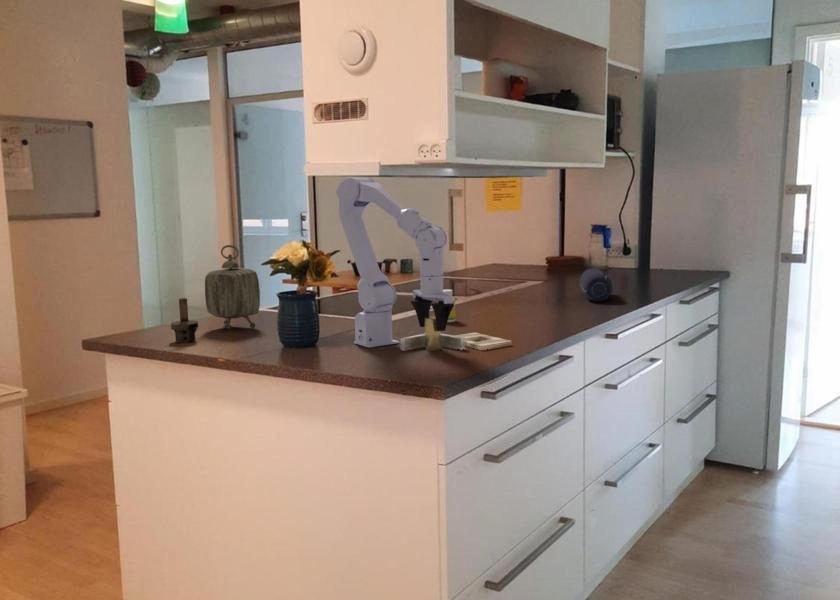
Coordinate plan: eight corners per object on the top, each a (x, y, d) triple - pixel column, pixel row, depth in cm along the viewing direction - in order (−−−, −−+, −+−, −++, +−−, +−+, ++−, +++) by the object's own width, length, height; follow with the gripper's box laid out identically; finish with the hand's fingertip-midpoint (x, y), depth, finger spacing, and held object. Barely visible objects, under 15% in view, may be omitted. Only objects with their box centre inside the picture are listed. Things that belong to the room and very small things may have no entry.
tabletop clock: (261, 327, 233) (257, 244, 230) (240, 332, 226) (235, 246, 222) (226, 324, 241) (221, 243, 237) (204, 329, 233) (199, 245, 229)
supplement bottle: (458, 320, 239) (457, 289, 238) (450, 323, 234) (449, 291, 233) (442, 319, 242) (442, 288, 240) (434, 322, 237) (434, 290, 236)
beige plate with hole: (511, 345, 200) (511, 340, 200) (481, 350, 194) (481, 345, 194) (474, 336, 212) (474, 332, 212) (445, 341, 207) (445, 337, 206)
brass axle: (431, 351, 195) (430, 319, 194) (422, 348, 198) (421, 317, 197) (444, 349, 197) (443, 318, 196) (434, 346, 200) (434, 316, 199)
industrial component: (205, 340, 215) (202, 297, 213) (184, 345, 209) (181, 301, 208) (183, 337, 221) (180, 295, 219) (162, 341, 215) (159, 298, 213)
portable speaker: (613, 303, 268) (614, 274, 266) (584, 303, 269) (584, 274, 268) (605, 293, 292) (605, 267, 291) (578, 293, 294) (578, 267, 292)
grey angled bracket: (465, 350, 195) (465, 338, 195) (400, 350, 196) (400, 339, 196) (465, 342, 204) (464, 331, 204) (402, 343, 205) (402, 332, 205)
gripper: (461, 276, 191) (462, 330, 193) (428, 271, 203) (429, 323, 205) (438, 278, 187) (439, 334, 189) (405, 273, 199) (406, 326, 201)
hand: (432, 328), depth 197 cm, fingers open, 7 cm apart
